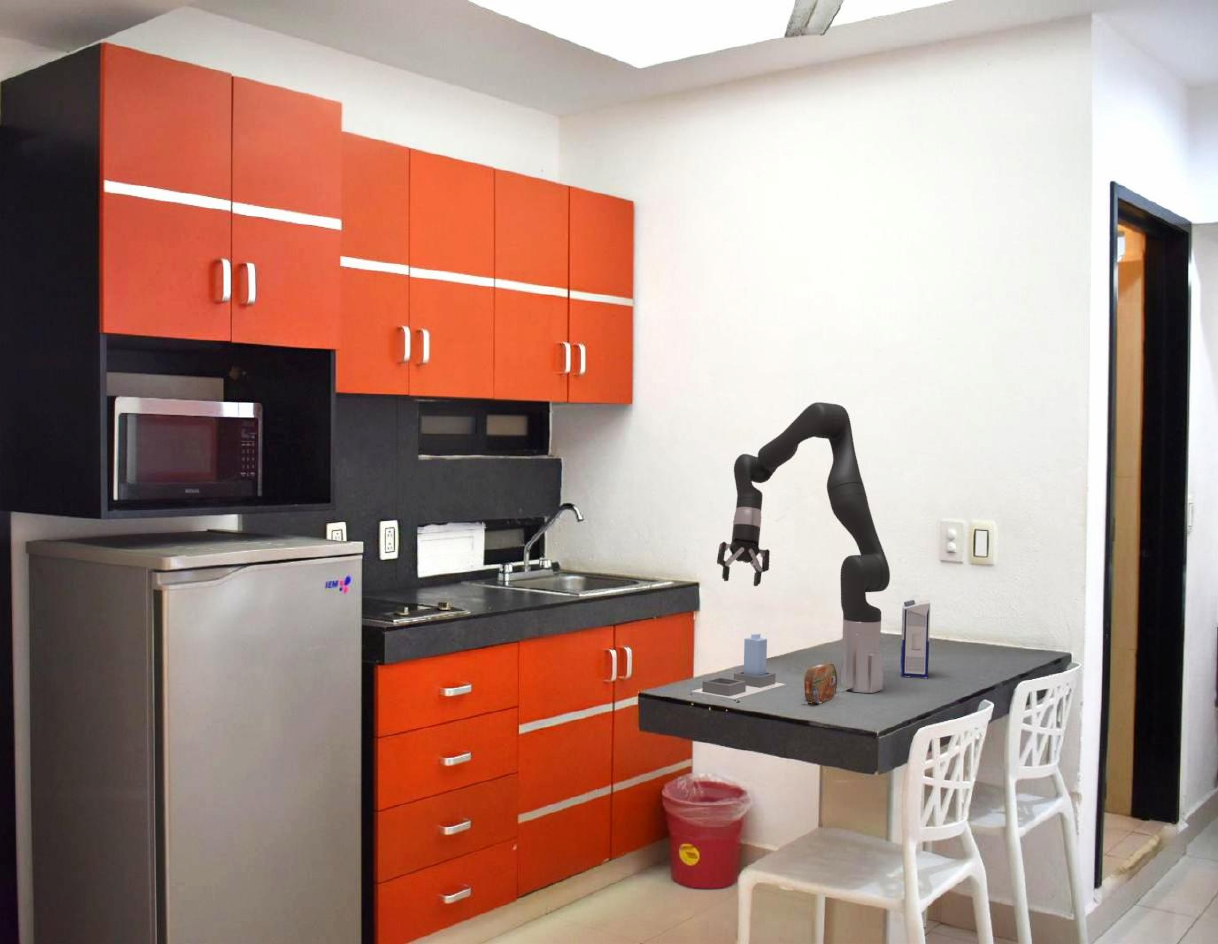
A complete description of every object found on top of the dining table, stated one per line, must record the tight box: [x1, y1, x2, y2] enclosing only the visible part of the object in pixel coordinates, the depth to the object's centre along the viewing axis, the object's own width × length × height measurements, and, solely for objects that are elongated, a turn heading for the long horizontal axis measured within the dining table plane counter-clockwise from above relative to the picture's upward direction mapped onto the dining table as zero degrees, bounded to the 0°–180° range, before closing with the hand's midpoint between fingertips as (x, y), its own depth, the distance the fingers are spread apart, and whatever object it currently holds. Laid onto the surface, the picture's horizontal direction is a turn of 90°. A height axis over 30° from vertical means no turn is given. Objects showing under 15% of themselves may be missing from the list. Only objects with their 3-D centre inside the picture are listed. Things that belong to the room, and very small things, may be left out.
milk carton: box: [900, 599, 931, 678], centre depth 317 cm, size 7×7×20 cm
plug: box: [743, 632, 768, 677], centre depth 294 cm, size 4×4×12 cm
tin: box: [803, 662, 838, 705], centre depth 281 cm, size 15×3×8 cm, turn 148°
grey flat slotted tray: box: [691, 670, 787, 701], centre depth 289 cm, size 12×24×4 cm, turn 142°
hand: (741, 583), depth 327 cm, fingers open, 8 cm apart
